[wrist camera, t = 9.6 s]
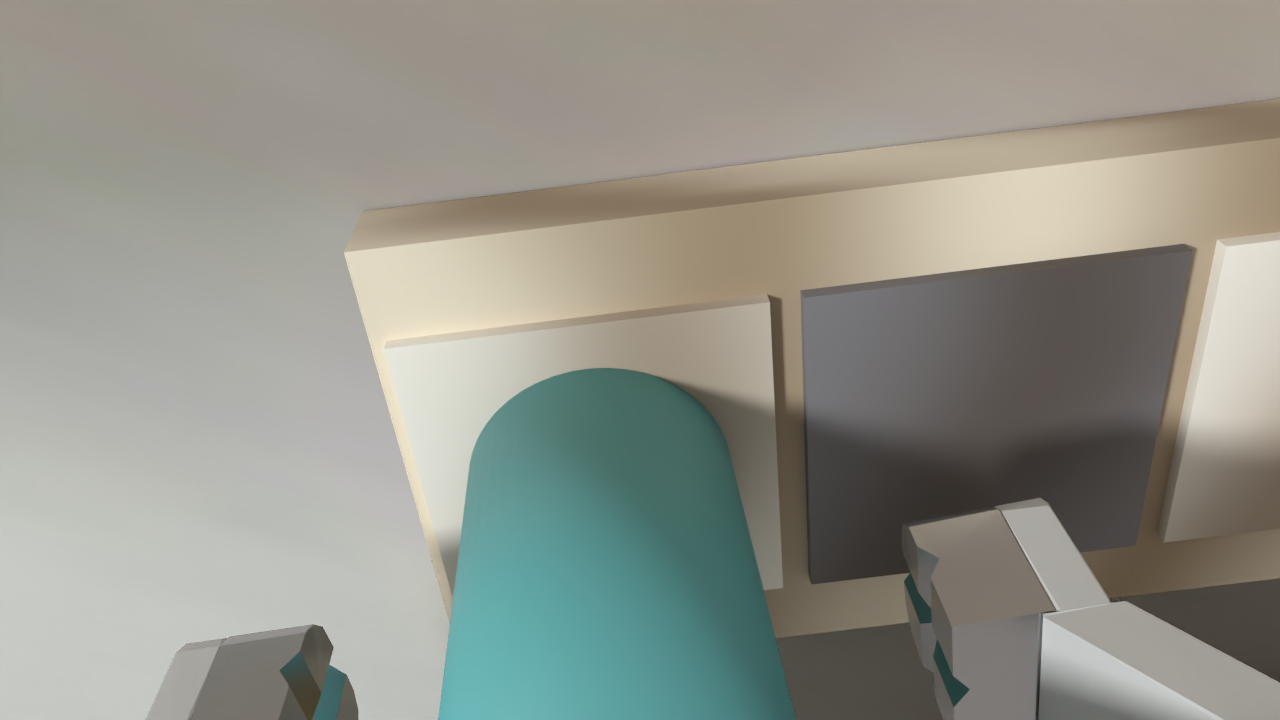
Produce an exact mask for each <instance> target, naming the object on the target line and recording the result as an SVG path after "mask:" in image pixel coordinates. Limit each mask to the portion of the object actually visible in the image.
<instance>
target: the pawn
mask: <svg viewBox="0 0 1280 720" xmlns="http://www.w3.org/2000/svg"><path fill="white" fill-rule="evenodd" d="M438 720H796V718H795V714H794V710H793V706H792V702H791V697H790V693H789V689H788V685H787V681H786V677H785V673H784V669H783V665H782V661H781V657H780V653H779V649H778V645H777V641H776V637H775V633H774V629H773V625H772V621H771V617H770V613H769V609H768V605H767V601H766V597H765V593H764V589H763V585H762V581H761V577H760V573H759V569H758V565H757V561H756V557H755V553H754V549H753V545H752V541H751V537H750V533H749V529H748V525H747V521H746V517H745V513H744V509H743V505H742V501H741V497H740V493H739V489H738V485H737V481H736V477H735V472H734V468H733V464H732V460H731V456H730V453H729V449H728V445H727V442H726V439H725V437H724V435H723V433H722V430H721V428H720V427H719V425H718V424H717V422H716V421H715V419H714V418H713V416H712V415H711V414H710V413H709V411H708V410H707V409H706V408H705V407H704V406H703V405H702V404H701V403H700V402H699V401H697V400H696V399H695V398H694V397H693V396H691V395H690V394H689V393H687V392H686V391H684V390H682V389H681V388H679V387H678V386H676V385H674V384H672V383H670V382H667V381H665V380H663V379H661V378H658V377H655V376H652V375H649V374H645V373H642V372H636V371H631V370H626V369H613V368H597V369H584V370H578V371H571V372H567V373H564V374H560V375H556V376H553V377H550V378H548V379H545V380H543V381H540V382H538V383H536V384H534V385H532V386H530V387H528V388H526V389H524V390H523V391H521V392H520V393H518V394H517V395H515V396H514V397H513V398H511V399H510V400H508V401H507V402H506V403H505V404H504V405H503V406H502V407H501V408H500V409H499V410H498V411H496V412H495V414H494V415H493V416H492V417H491V419H490V420H489V421H488V422H487V424H486V425H485V427H484V428H483V430H482V432H481V433H480V435H479V437H478V439H477V441H476V444H475V446H474V449H473V451H472V456H471V460H470V465H469V472H468V481H467V489H466V497H465V505H464V513H463V522H462V530H461V538H460V546H459V554H458V563H457V571H456V579H455V587H454V595H453V604H452V612H451V620H450V628H449V636H448V645H447V653H446V661H445V669H444V677H443V685H442V694H441V702H440V710H439V718H438Z"/></svg>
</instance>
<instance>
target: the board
mask: <svg viewBox="0 0 1280 720" xmlns="http://www.w3.org/2000/svg"><path fill="white" fill-rule="evenodd" d="M344 254H345V258H346V261H347V265H348V268H349V272H350V275H351V279H352V282H353V286H354V289H355V293H356V296H357V300H358V303H359V307H360V311H361V314H362V318H363V321H364V325H365V328H366V332H367V335H368V339H369V342H370V346H371V349H372V353H373V356H374V360H375V363H376V367H377V370H378V374H379V377H380V381H381V384H382V388H383V391H384V395H385V398H386V402H387V405H388V409H389V412H390V416H391V419H392V423H393V426H394V430H395V433H396V437H397V440H398V444H399V447H400V451H401V454H402V458H403V461H404V465H405V468H406V472H407V475H408V479H409V482H410V486H411V489H412V493H413V496H414V500H415V503H416V507H417V510H418V514H419V517H420V521H421V524H422V528H423V531H424V535H425V538H426V542H427V545H428V549H429V552H430V556H431V559H432V563H433V566H434V570H435V573H436V577H437V580H438V584H439V587H440V591H441V594H442V598H443V601H444V605H445V608H446V612H447V615H448V619H449V622H450V620H451V612H452V604H453V595H454V587H455V579H456V571H457V563H458V554H459V546H460V538H461V530H462V522H463V513H464V505H465V497H466V489H467V481H468V472H469V465H470V460H471V456H472V451H473V449H474V446H475V444H476V441H477V439H478V437H479V435H480V433H481V432H482V430H483V428H484V427H485V425H486V424H487V422H488V421H489V420H490V419H491V417H492V416H493V415H494V414H495V412H496V411H498V410H499V409H500V408H501V407H502V406H503V405H504V404H505V403H506V402H507V401H508V400H510V399H511V398H513V397H514V396H515V395H517V394H518V393H520V392H521V391H523V390H524V389H526V388H528V387H530V386H532V385H534V384H536V383H538V382H540V381H543V380H545V379H548V378H550V377H553V376H556V375H560V374H564V373H567V372H571V371H578V370H584V369H597V368H613V369H626V370H631V371H636V372H642V373H645V374H649V375H652V376H655V377H658V378H661V379H663V380H665V381H667V382H670V383H672V384H674V385H676V386H678V387H679V388H681V389H682V390H684V391H686V392H687V393H689V394H690V395H691V396H693V397H694V398H695V399H696V400H697V401H699V402H700V403H701V404H702V405H703V406H704V407H705V408H706V409H707V410H708V411H709V413H710V414H711V415H712V416H713V418H714V419H715V421H716V422H717V424H718V425H719V427H720V428H721V430H722V433H723V435H724V437H725V439H726V442H727V445H728V449H729V453H730V456H731V460H732V464H733V468H734V472H735V477H736V481H737V485H738V489H739V493H740V497H741V501H742V505H743V509H744V513H745V517H746V521H747V525H748V529H749V533H750V537H751V541H752V545H753V549H754V553H755V557H756V561H757V565H758V569H759V573H760V577H761V581H762V585H763V589H764V593H765V597H766V601H767V605H768V609H769V613H770V617H771V621H772V625H773V629H774V633H775V637H776V638H783V637H791V636H800V635H808V634H817V633H825V632H833V631H842V630H850V629H859V628H867V627H875V626H884V625H892V624H901V623H909V618H908V613H907V607H906V600H905V589H904V580H905V579H906V577H907V576H908V575H909V574H910V570H909V567H908V565H907V562H906V559H905V557H904V554H903V552H902V537H901V532H902V526H903V523H907V522H913V521H918V520H924V519H930V518H935V517H941V516H946V515H952V514H958V513H963V512H969V511H974V510H980V509H985V508H994V507H995V506H999V505H1004V504H1009V503H1015V502H1020V501H1025V500H1031V499H1036V498H1041V499H1043V500H1044V501H1046V502H1048V503H1049V505H1050V507H1051V508H1052V510H1053V511H1054V513H1055V514H1056V516H1057V518H1058V519H1059V521H1060V522H1061V524H1062V525H1063V527H1064V529H1065V530H1066V532H1067V533H1068V535H1069V536H1070V538H1071V540H1072V541H1073V543H1074V544H1075V546H1076V547H1077V549H1078V550H1079V552H1080V554H1081V555H1082V557H1083V558H1084V560H1085V561H1086V563H1087V565H1088V566H1089V568H1090V569H1091V571H1092V572H1093V574H1094V576H1095V577H1096V579H1097V580H1098V582H1099V583H1100V585H1101V587H1102V588H1103V590H1104V591H1105V593H1106V594H1107V596H1108V598H1109V599H1111V598H1119V597H1128V596H1136V595H1144V594H1153V593H1161V592H1170V591H1178V590H1186V589H1195V588H1203V587H1212V586H1220V585H1228V584H1237V583H1245V582H1254V581H1262V580H1270V579H1279V578H1280V99H1274V100H1266V101H1258V102H1249V103H1241V104H1233V105H1225V106H1217V107H1209V108H1201V109H1192V110H1184V111H1176V112H1168V113H1160V114H1152V115H1144V116H1135V117H1127V118H1119V119H1111V120H1103V121H1095V122H1086V123H1078V124H1070V125H1062V126H1054V127H1046V128H1038V129H1029V130H1021V131H1013V132H1005V133H997V134H989V135H981V136H972V137H964V138H956V139H948V140H940V141H932V142H924V143H915V144H907V145H899V146H891V147H883V148H875V149H867V150H858V151H850V152H842V153H834V154H826V155H818V156H810V157H801V158H793V159H785V160H777V161H769V162H761V163H752V164H744V165H736V166H728V167H720V168H712V169H704V170H695V171H687V172H679V173H671V174H663V175H655V176H647V177H638V178H630V179H622V180H614V181H606V182H598V183H590V184H581V185H573V186H565V187H557V188H549V189H541V190H533V191H524V192H516V193H508V194H500V195H492V196H484V197H475V198H467V199H459V200H451V201H443V202H435V203H427V204H418V205H410V206H402V207H394V208H386V209H378V210H370V211H363V212H362V214H361V216H360V218H359V220H358V223H357V225H356V227H355V229H354V231H353V234H352V236H351V238H350V240H349V242H348V245H347V247H346V249H345V251H344Z"/></svg>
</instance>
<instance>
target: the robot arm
mask: <svg viewBox="0 0 1280 720" xmlns="http://www.w3.org/2000/svg"><path fill="white" fill-rule="evenodd" d="M901 537H902V552H903V554H904V557H905V559H906V562H907V565H908V567H909V570H910V574H909V575H908V576H907V577H906V579H905V580H904V589H905V600H906V607H907V613H908V618H909V624H910V629H911V632H912V636H913V639H914V642H915V646H916V649H917V651H918V654H919V657H920V660H921V662H922V665H923V666H924V667H925V668H927V669H928V670H930V671H931V672H933V673H934V684H935V700H936V702H937V705H938V707H939V710H940V712H941V715H942V718H943V720H1280V682H1278V681H1276V680H1274V679H1272V678H1270V677H1268V676H1266V675H1265V674H1263V673H1261V672H1259V671H1257V670H1255V669H1253V668H1251V667H1250V666H1248V665H1246V664H1244V663H1242V662H1240V661H1238V660H1236V659H1235V658H1233V657H1231V656H1229V655H1227V654H1225V653H1223V652H1221V651H1220V650H1218V649H1216V648H1214V647H1212V646H1210V645H1208V644H1206V643H1205V642H1203V641H1201V640H1199V639H1197V638H1195V637H1193V636H1191V635H1189V634H1188V633H1186V632H1184V631H1182V630H1180V629H1178V628H1176V627H1174V626H1173V625H1171V624H1169V623H1167V622H1165V621H1163V620H1161V619H1159V618H1158V617H1156V616H1154V615H1152V614H1150V613H1148V612H1146V611H1144V610H1143V609H1141V608H1139V607H1137V606H1135V605H1133V604H1131V603H1129V602H1128V601H1122V602H1115V603H1112V602H1111V601H1110V599H1109V598H1108V596H1107V594H1106V593H1105V591H1104V590H1103V588H1102V587H1101V585H1100V583H1099V582H1098V580H1097V579H1096V577H1095V576H1094V574H1093V572H1092V571H1091V569H1090V568H1089V566H1088V565H1087V563H1086V561H1085V560H1084V558H1083V557H1082V555H1081V554H1080V552H1079V550H1078V549H1077V547H1076V546H1075V544H1074V543H1073V541H1072V540H1071V538H1070V536H1069V535H1068V533H1067V532H1066V530H1065V529H1064V527H1063V525H1062V524H1061V522H1060V521H1059V519H1058V518H1057V516H1056V514H1055V513H1054V511H1053V510H1052V508H1051V507H1050V505H1049V503H1048V502H1046V501H1044V500H1043V499H1041V498H1036V499H1031V500H1025V501H1020V502H1015V503H1009V504H1004V505H999V506H995V507H994V508H985V509H980V510H974V511H969V512H963V513H958V514H952V515H946V516H941V517H935V518H930V519H924V520H918V521H913V522H907V523H903V526H902V532H901ZM332 651H333V646H332V644H331V642H330V640H329V638H328V636H327V634H326V632H325V631H324V629H323V627H321V626H317V625H306V626H299V627H292V628H285V629H279V630H272V631H265V632H258V633H251V634H244V635H238V636H231V637H229V638H225V639H218V640H210V641H203V642H196V643H189V644H186V645H185V646H183V647H182V648H181V649H180V650H179V651H178V652H176V654H175V655H174V657H173V659H172V662H171V664H170V666H169V668H168V671H167V673H166V675H165V677H164V679H163V682H162V684H161V686H160V688H159V691H158V693H157V695H156V697H155V699H154V702H153V704H152V706H151V708H150V711H149V713H148V715H147V717H146V719H145V720H358V707H357V702H356V698H355V694H354V690H353V688H352V686H351V683H350V681H349V679H348V677H347V675H346V674H344V673H342V672H341V671H339V670H337V669H336V668H334V667H332V666H330V665H329V663H330V659H331V655H332Z"/></svg>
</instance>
